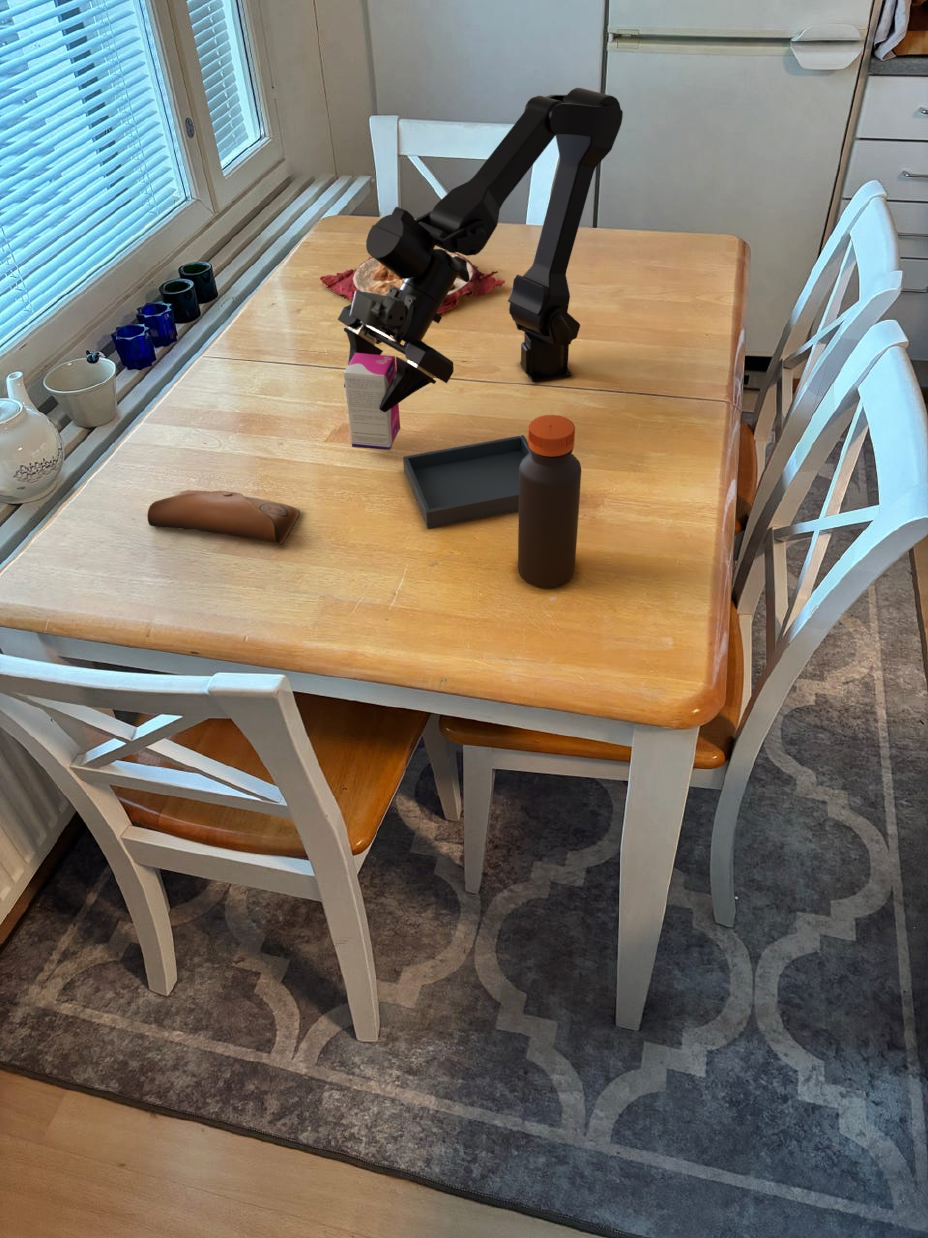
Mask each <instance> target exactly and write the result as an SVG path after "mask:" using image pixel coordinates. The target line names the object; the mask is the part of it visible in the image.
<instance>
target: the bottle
mask: <svg viewBox="0 0 928 1238" xmlns="http://www.w3.org/2000/svg"><path fill="white" fill-rule="evenodd" d="M527 437H528V438H527V441H528V444H529V451H530V453H529V454H528V455H526V456H525V457H524V458H523V459H522V461H521V464H520V466H519V511H518V522H517V523H518V528H517V531H518V534H517V535H518V536H517V571H518V574H519V576H520V577H521V579H522V580H523V581H524V582H526V583H527V584H529V585H531V586H533V587H536V588H540V589H541V588H542V589H553V588H557V587H561V586H563V585H565V584H566V583H569V581H570V580H571V579H572V578H573V576H574V573H575V570H576V559H577V545H578V544H577V543H578V527H579V513H580V500H581V499H580V498H581V497H580V496H581V482H582V466H581V462H580V460H579V459H578V458H577V457H576V456H575V455H574V454H573V452H574V448H575V447H574V446H575V442H576V441H575V440H576V439H575V437H576V425H575V423H574V422H573V421H572V420H571V419H569V418H568V417H565V416H562V415H559V414H557V415H556V414H546V415H541V416H538V417H536V418H534V419H532V420H531V421H530V422H529V424H528V436H527Z"/></svg>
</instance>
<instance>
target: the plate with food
mask: <svg viewBox="0 0 928 1238" xmlns="http://www.w3.org/2000/svg"><path fill="white" fill-rule="evenodd" d="M434 249H435V248H434ZM434 249H433V250H434ZM443 250H444V249H443ZM444 251H446V252H447V253H448V254H449V255H451V256H452V257H455V256H458V257H460V258H462V259H465V260H466V261H467V270H468V272H469V277H470V280H469V282H465V281H463V280H461V279H458V278H456V280H455V282H454V283H453V285H452V287H451V289H450V291H449V292H448V294H447V296H446V298H445V300H444V301H443V303H442V305H441V307H440V308H439V310H438V312H437V313H438V314H439V315H440V314H442V313H444V312H448V311H451V310H453V309H455V308H456V307H457V306H458V305H459V304H460V303H461V300H459V299H458V298H459V297H461V296H463V295H464V294H465V297H467V298H471V297H473V295H474V292H475V295H476V296H477V297H480V296H483V295H484V296H485V295H486V294H487V293H490V292H492V290H494V289H496V287H500V288H501V287H502V286H504V285H505V284H506V280H501V279H496V278H495V277H493V275H495V274H498V273H499V271H497V270H496V271H494V270H493V271H491V272H490V273H484V272H482V271H479V266H476V265H474V264H472V261H470V260H469V259H468V258H467V257H465V256H464V255H462V254H460V253H457V252H456V253H451V252H449V251H447V250H444ZM319 280H320V281H321V282H322V284H324V285H325V286H326V287H327V289H329V290H331V291H333V292H334V293H335V294H337V295H339V296H344V297H345V298H346V299H348V300H349V301H353V299H354V294H355V291H362V292H368V293H375V294H379V295H384V296H386V295H387V294H388V292H389V290H390V289H391V288H393V286H394V287H396V288H398V289H400V288H401V286H402V284H403V282H404V280H405V279H402V278H399V277H398V276H397V275H395V274H394V273H393V272H391V271H390V270H389V269H387V268H386V267H385V266H383V265H382V264H381V263H379V262H378V261H377V260H376V259H374V258H373V257H372V256H368V259H367V260H365V261H363V262H361V263H360V264H359V265H358V267H357V268H355V269H352V268H351V269H346V271H343V272H336V275H334V274H328V275H321V276H320V277H319ZM476 287H478V288H476Z"/></svg>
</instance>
